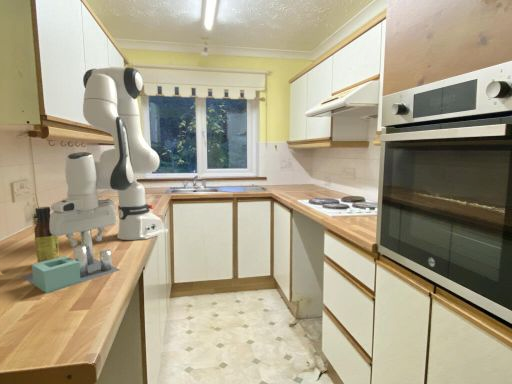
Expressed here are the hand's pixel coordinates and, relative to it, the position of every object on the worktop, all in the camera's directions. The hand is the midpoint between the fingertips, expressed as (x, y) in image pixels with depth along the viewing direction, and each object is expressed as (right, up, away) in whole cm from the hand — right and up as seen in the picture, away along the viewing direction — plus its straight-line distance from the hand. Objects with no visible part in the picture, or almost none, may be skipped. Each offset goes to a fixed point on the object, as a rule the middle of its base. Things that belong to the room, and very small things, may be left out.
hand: (86, 243), depth 107 cm
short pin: (+9, -8, -4) cm, 12 cm away
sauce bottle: (-14, -8, +2) cm, 16 cm away
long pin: (0, -7, +1) cm, 7 cm away
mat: (-1, -9, -7) cm, 11 cm away
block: (-1, -9, -15) cm, 17 cm away
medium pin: (+3, -8, -9) cm, 13 cm away
